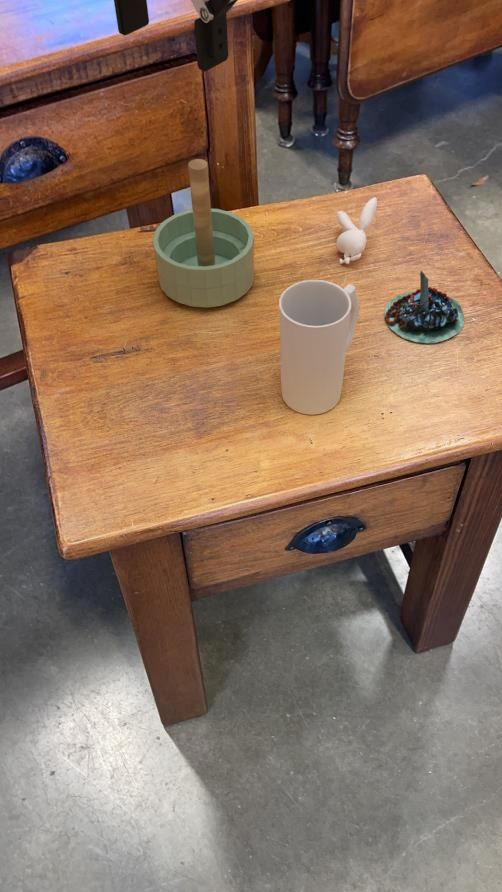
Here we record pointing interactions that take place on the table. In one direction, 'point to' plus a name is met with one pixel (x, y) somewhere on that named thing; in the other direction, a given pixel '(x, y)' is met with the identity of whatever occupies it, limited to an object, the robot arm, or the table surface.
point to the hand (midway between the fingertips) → (172, 46)
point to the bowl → (207, 282)
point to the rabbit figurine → (355, 232)
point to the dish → (424, 314)
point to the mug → (315, 343)
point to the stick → (202, 211)
